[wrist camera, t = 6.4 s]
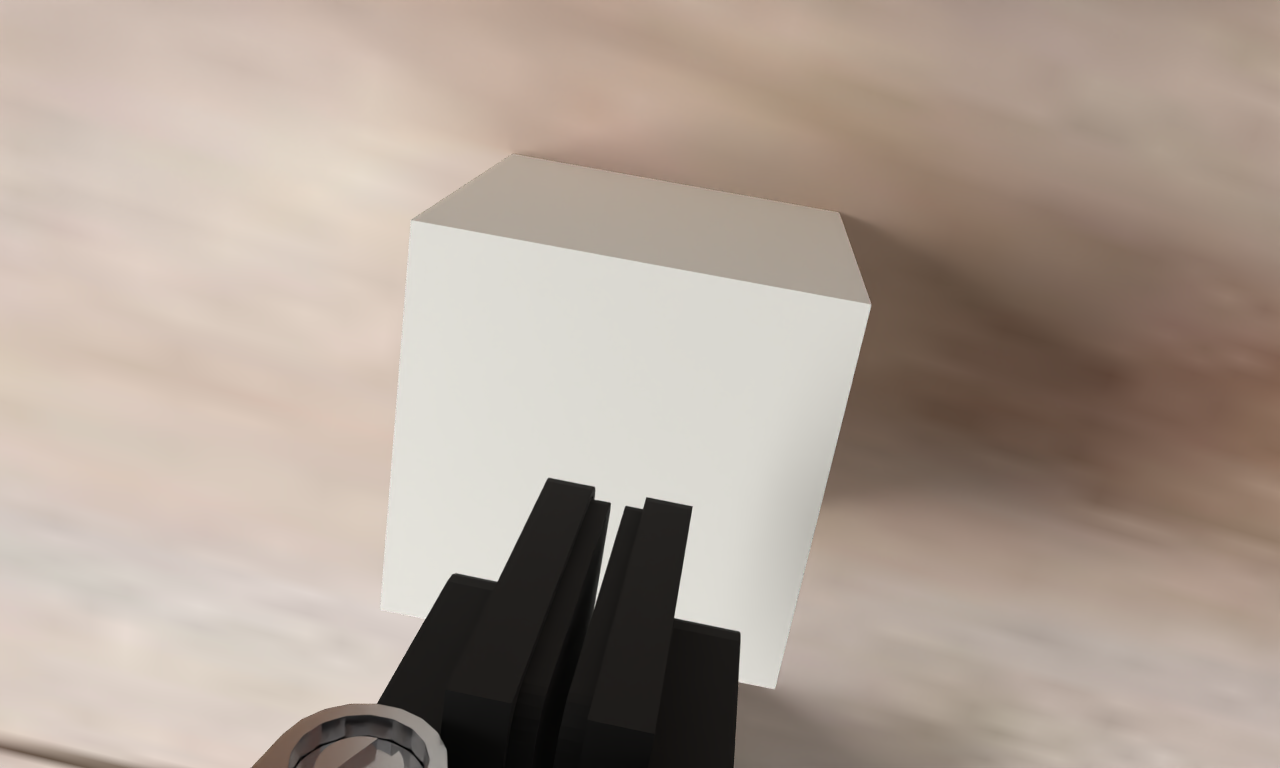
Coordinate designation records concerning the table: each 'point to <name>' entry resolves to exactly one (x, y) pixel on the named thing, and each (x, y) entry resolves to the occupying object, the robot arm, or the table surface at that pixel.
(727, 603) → the plain block
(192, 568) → the table surface
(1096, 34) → the table surface
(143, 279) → the table surface
